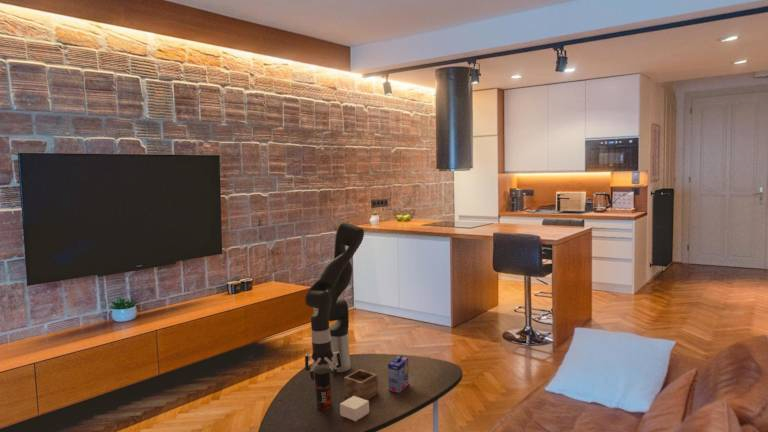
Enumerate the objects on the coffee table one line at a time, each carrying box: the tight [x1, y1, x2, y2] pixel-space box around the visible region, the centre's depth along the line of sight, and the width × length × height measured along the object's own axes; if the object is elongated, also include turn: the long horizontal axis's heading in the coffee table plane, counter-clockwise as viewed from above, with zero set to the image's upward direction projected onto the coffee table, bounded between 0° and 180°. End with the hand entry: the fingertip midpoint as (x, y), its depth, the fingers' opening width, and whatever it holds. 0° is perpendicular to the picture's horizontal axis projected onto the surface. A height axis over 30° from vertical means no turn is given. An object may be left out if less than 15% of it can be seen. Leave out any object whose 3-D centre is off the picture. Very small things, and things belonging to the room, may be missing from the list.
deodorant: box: [314, 367, 333, 411], centre depth 214 cm, size 6×6×15 cm
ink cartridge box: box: [387, 354, 409, 394], centre depth 227 cm, size 10×6×14 cm, turn 152°
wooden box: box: [343, 368, 380, 401], centre depth 222 cm, size 10×10×8 cm
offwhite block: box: [339, 396, 370, 422], centre depth 207 cm, size 8×8×5 cm
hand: (324, 378), depth 213 cm, fingers open, 8 cm apart
